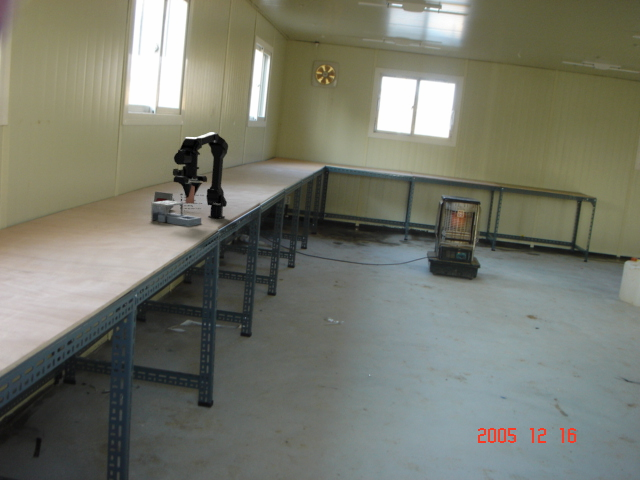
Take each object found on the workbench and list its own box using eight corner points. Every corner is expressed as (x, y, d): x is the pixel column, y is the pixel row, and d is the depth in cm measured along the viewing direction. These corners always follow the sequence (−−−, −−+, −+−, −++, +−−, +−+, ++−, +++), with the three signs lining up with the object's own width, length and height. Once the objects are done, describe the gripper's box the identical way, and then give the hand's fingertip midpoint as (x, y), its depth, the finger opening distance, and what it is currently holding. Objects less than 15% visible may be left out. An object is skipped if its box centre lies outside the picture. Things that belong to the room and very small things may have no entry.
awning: (168, 217, 294) (168, 200, 292) (183, 220, 290) (183, 202, 288) (150, 220, 283) (151, 202, 281) (166, 223, 279) (166, 204, 277)
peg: (188, 202, 282) (189, 185, 280) (195, 203, 280) (196, 186, 279) (183, 202, 278) (184, 185, 277) (190, 203, 277) (191, 186, 275)
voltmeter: (153, 211, 308) (153, 193, 306) (152, 208, 319) (152, 190, 317) (204, 213, 317) (204, 194, 315) (201, 209, 327) (201, 192, 325)
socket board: (171, 218, 291) (171, 212, 291) (201, 223, 284) (201, 217, 283) (158, 221, 282) (158, 215, 282) (187, 226, 275) (188, 220, 274)
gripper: (189, 162, 288) (188, 194, 291) (164, 163, 271) (163, 196, 274) (208, 164, 283) (207, 196, 286) (184, 165, 266) (182, 199, 269)
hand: (190, 197), depth 279 cm, fingers closed on peg, 4 cm apart
